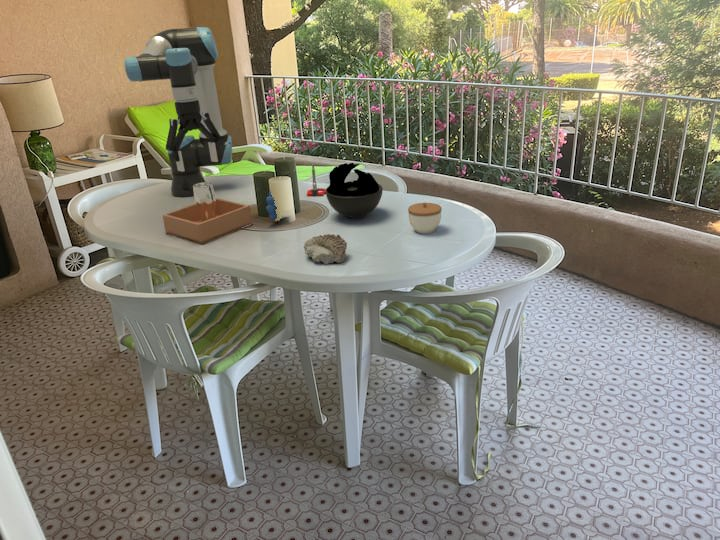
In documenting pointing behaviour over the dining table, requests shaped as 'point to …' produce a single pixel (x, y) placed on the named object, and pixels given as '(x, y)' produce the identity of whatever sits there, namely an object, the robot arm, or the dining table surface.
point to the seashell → (326, 248)
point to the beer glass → (205, 200)
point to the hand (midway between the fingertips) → (198, 166)
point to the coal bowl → (353, 192)
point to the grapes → (271, 207)
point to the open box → (207, 222)
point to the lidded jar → (424, 217)
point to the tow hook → (315, 186)
